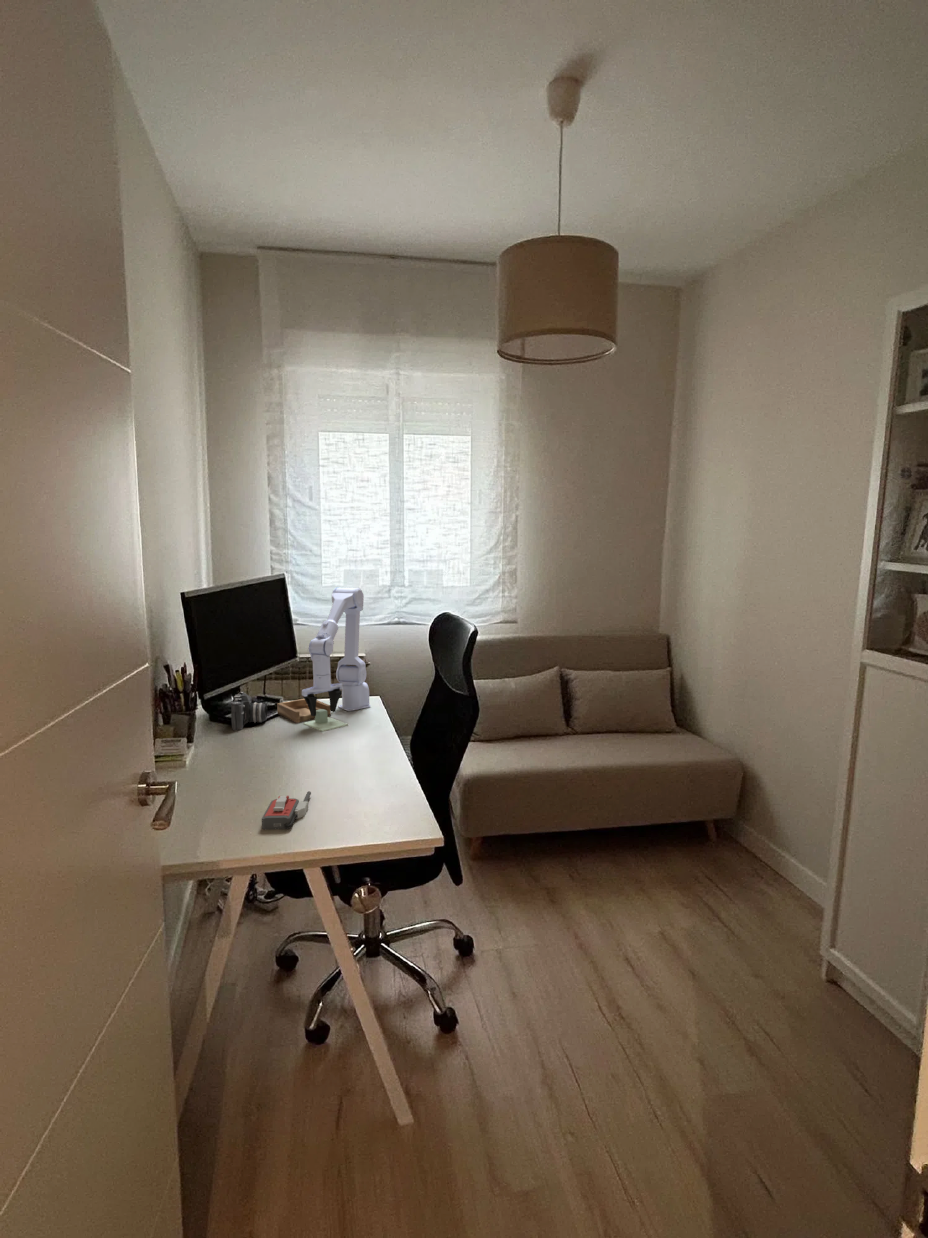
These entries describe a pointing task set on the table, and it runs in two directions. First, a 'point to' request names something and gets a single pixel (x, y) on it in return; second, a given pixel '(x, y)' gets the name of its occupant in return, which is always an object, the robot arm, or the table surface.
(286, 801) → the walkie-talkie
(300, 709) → the box
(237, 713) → the camera
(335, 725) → the lid
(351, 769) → the table surface
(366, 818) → the table surface
